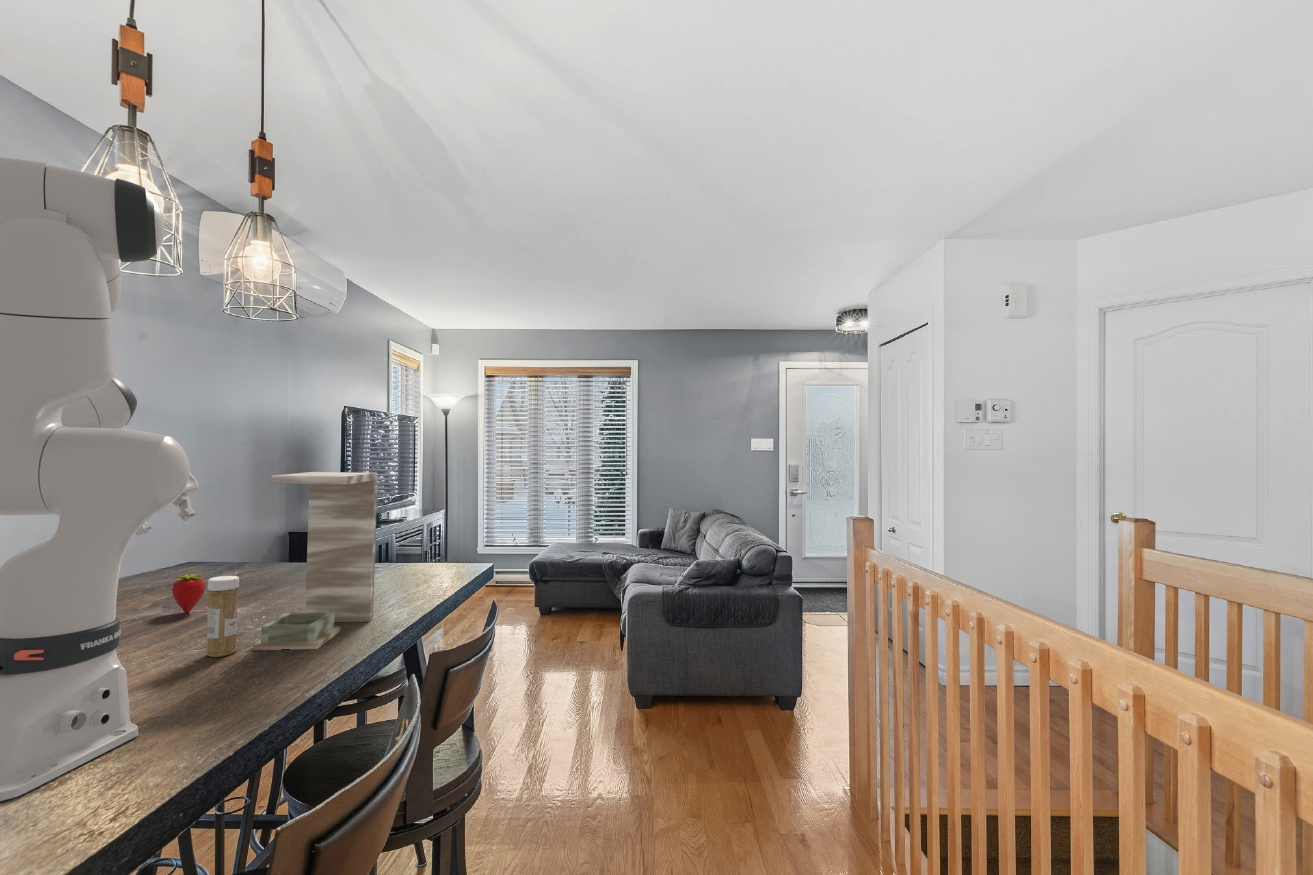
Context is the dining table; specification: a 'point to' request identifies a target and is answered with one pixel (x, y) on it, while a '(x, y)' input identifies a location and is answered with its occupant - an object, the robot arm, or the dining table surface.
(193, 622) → the dining table surface
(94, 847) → the dining table surface
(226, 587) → the sprinkles bottle
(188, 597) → the strawberry
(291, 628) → the awning socket
